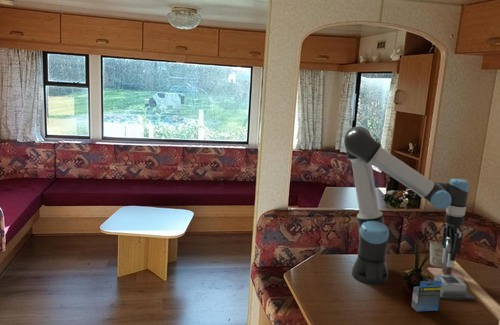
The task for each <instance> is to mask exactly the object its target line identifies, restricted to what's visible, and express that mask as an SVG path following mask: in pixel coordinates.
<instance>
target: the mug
mask: <svg viewBox="0 0 500 325" xmlns="http://www.w3.org/2000/svg"><path fill="white" fill-rule="evenodd" d="M443 251H444V247H443V245H442V241H431V242H429V264H430V266H433V267H434V268H442V267H443V262H442V258H443Z"/></svg>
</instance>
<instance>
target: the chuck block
mask: <svg viewBox="0 0 500 325" xmlns="http://www.w3.org/2000/svg"><path fill="white" fill-rule="evenodd" d="M433 276H434V275H433ZM441 280H442V284H441V291H440V299H439V300H457V301H475V300H476V297H475V296H473V294H471V293H470V292H469V290H467V288H468V285H467V284H466V282H463V281H462V280H460V279H459V278H458V277H457V276H456V275H439V274H435V276H434V277H433V279H432V280H431V281H441ZM431 285H434V284H432V283H431Z"/></svg>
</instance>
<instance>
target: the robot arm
mask: <svg viewBox="0 0 500 325" xmlns="http://www.w3.org/2000/svg"><path fill="white" fill-rule="evenodd" d="M344 134H345V135H344V138H343V139H344V144H343V145H344V147H345V152H346V153H345V154H346V157H347V160H348V161H350V163H351V168H352V173H353V174H352V175H353V179H354V180H353V181H354V186H355V192H356V198H357V199H356V200H357V205H358V210H359V211H358V213H357V215H356V219H357V226H358V235H359V236H358V238H359V239H358V240H359V241H358V248H357V249H358V250H357V258H356V260H355V262H354V264H353V266H352V269H351V275H352V277H354V279H356V280H358V281H359V282H362V283H366V284H369V285H382V284H385V283H387V282H388V279H389V272H388V268H387V263H386V259H387V251H388V242H389V237H390V230H389V227H388V226H387V225H386V224H385V220H384V219H385V218H384V215H383V214H384V213H383V212H382V210H380V209H379V204H378V196H377V190H376V185H375V184H376V183H375V178H374V177H375V176H374V170H373V166H375V167H377V168H378V169H380V170H381V171H382V172H384V173H385V174H387V175H389V177H391V178H393V179H394V180H396V181H397V182H399V183H401V184H402V185H404V186H405V187H406V188H407V189H409V190H410V191H413V192H414V193H415V194H416V195H418V196H419V197H420V198H421V199H425V200H426V201H427V202H428V203H430V204H431V205H432V206H433V207H434V208H436V209H437V210H438V209H439V210H445V212H446V213H445V214H444V215H445V216H444V222H445V223H442V226H443V228H442V229H443V230H442V235H441V236H442V237H441V242H442V245H443V247H444V251H443V258H442V262H443V260H444V254H445V247H446V236H447V237H450V238H451V243H450V252H449V255H448V262H447V267H453V268H454V267H455V262H456V256H457V255H460V253H461V252H460V250H461V246H462V239H463V238H464V233H463V232H461V226H462V225H464V223H465V219H466V218H465V215H466V210H467V202H468V196H469V191H470V190H469V189H470V182H469V181H468V180H466V179H462V178H450V180H449V182H439V181H432V180H431V179H429V178H427V177H426V176H424V175H423V174H421V173H420V172H419V171H417V170H416V169H414V168H412V167H411V166H409V165H408V164H407V163H405V162H404V161H402V160H401V159H399V158H397V157H396V156H394V155H393V154H391V153H390V152H388V151H387V150H385V149H384V148H383V146H382V144H381V143H379V142H378V141H377V140H375V138H373V136H372V134H371V132H370V131H369V129H367V128H365V127H364V126H353V127H352V128H350V129H348V130H347V131H346V132H345V133H344Z"/></svg>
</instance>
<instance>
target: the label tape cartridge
mask: <svg viewBox="0 0 500 325" xmlns="http://www.w3.org/2000/svg"><path fill="white" fill-rule="evenodd" d="M430 283H432V284H434V285H427V284H430ZM441 284H442V280H441V281H425V280H421V281H420V282H419V286H413V289H412V290H413V291H412V297H411V304H410V305H411V306H410V307H411V308H412V309H413V310H415V312H430V311H431V312H433V311H439V305H440V300H441V299H440V291H441Z"/></svg>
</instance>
